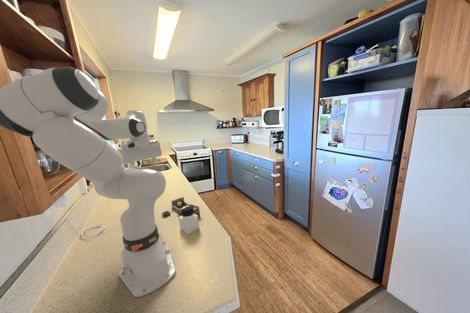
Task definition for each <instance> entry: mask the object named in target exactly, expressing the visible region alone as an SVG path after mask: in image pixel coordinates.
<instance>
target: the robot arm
mask: <svg viewBox="0 0 470 313" xmlns="http://www.w3.org/2000/svg"><path fill="white" fill-rule="evenodd" d="M108 111H109V101H108V99H107V97H106V96H105V94H103V92H101V91H100V90H99V89H98V87H97V86H96V85H95V83H94V82H93V81H92V79H91V78H90V77H89V76H88V74H86V73H84V71H81V70H79V69H78V68H75V67H73V66H59V67H50V68H47V69H44V70H43V71H42V72H40V73H35V74H32V75H30V76H29V75H28V76H23V77H20V78H18V79H15V80H13V81H12V82H9V83H7V84H5V85H2V86H1V87H0V127H2V128H4V129H6V130H9V131H11V132H13V133H17V134H18V135H22V136H25V137H29V138H32V141H33V143H34V144H35V145H36V146H37V147H38V148H39V149H40V151H42V152H44V154H46V155H48V157H50V158H51V159H53V160H54V161H55V162H57V163H58V164H61V166H64V167H65V168H67V169H68V170H70V171H72V172H74V173H76V174H78V175H79V176H80V177H83V178H84V179H86V180H88V181H90V182H91V183H92V184H93V185H94V190H95V192H96V193H97V195H99V196H101V197H105V198H108V199H113V200H126V201H127V202H128V208H127V209H125V210H124V211H123V213H122V214H121V215H120V218H119V221H120V226H121V230H122V231H121V232H122V244H123V246H124V247H123V250H122V251H121V252H120V256H121V261H122V266H123V268H121V270H119V272H118V277H119V279H120V280H121V281H122V282H123V284H124V285H125V286H126V287H127V289H128V290H129V292H130V293H131V294H132V296H133V297H134V298H140V297H144V296H146V295H148V294H150V293H152V292H154V291H156V290H158V289H159V288H161V287H163V286H164V285H165V284H166V283H168V282H169V281H170V280H171V279H173V277H174V276H175V274H176V273H177V271H176V268H175V264H174V260H173V258H172V257H173V256H172V252H171V249H170V247H166V246H164V245H166V240H163V238H162V234H161V233H159V228H158V225H157V224H156V221H155V220H156V218H155V212H154V210H155V204H156V201H157V200H158V199H159V198H160V197H161V196H162V195H163V194H164V192H165V190H166V186H167V180H166V178H165V175H164V174H163V173H162V172H161V171H158V170H155V169H149V168H138V166H136V165H135V164H136V163H135V162H141V161H144V160H148V159H149V160H150V159H151V160H152V162H150V165H151V167H154V166H156V161H157V158H159V157H162V155H163V153H162V148H161V146H160V145H161V144H160V141H158V140H150V136H149V133H148V125H147V124H148V123H147V120H146V116H145V113H143V111H140V110H128V111H127V112H126V116H124V117H118V118H117V117H116V118H115V117H113V118H104V117H105V116H106V115H107V113H108ZM125 139H128V140H127V141H125V142H122V143H121V144H120V148H121V150H120V151H118V150H117V149H115V148H114V147H113V146H112V145H111V144H110V143H109V142H107V141H114V140H125ZM123 164H129V165H130V166H131V167H133V168H129V167H126V166H124V165H123Z"/></svg>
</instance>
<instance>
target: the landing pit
mask: <svg viewBox="0 0 470 313" xmlns="http://www.w3.org/2000/svg"><path fill="white" fill-rule="evenodd" d="M170 202H171V208H172V209H173V210H174V211H175V212H177V214H179V213H178V208H180V209H182V208H183V207H185V206H190V205H189V204H190V203H188V202H186V200H185V197H184V196H181V197H179V198H176V199H173V200H171V201H170ZM178 202H181V203H182V206H181V207H178V206H177V203H178Z"/></svg>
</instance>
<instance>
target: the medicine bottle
mask: <svg viewBox="0 0 470 313" xmlns="http://www.w3.org/2000/svg"><path fill="white" fill-rule="evenodd" d="M181 213H182V214H181V215H179V217H178V222H179V229H180V231H182V232H184V233H185V234H186V235H190V234H191V233H193V232H195V231H197V230H198V229H199V228H200V224H199V223H200V222H199V221H200V220H199V217H198V216H197V215H195V214H194V209H193V207H192V206H185V207H183V208H182V209H181Z"/></svg>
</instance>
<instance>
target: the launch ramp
mask: <svg viewBox="0 0 470 313" xmlns="http://www.w3.org/2000/svg"><path fill="white" fill-rule="evenodd" d="M188 204H189V205H190V206H192V207H193V209H194V214H195V215H197V216H198V218H199V217H200V216H201V213H200V211H201V210H200V207H199V206H198V205H195V204H191V203H188ZM177 214H178V215H179V216H182V213H181V209H180V208H178V213H177Z"/></svg>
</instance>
